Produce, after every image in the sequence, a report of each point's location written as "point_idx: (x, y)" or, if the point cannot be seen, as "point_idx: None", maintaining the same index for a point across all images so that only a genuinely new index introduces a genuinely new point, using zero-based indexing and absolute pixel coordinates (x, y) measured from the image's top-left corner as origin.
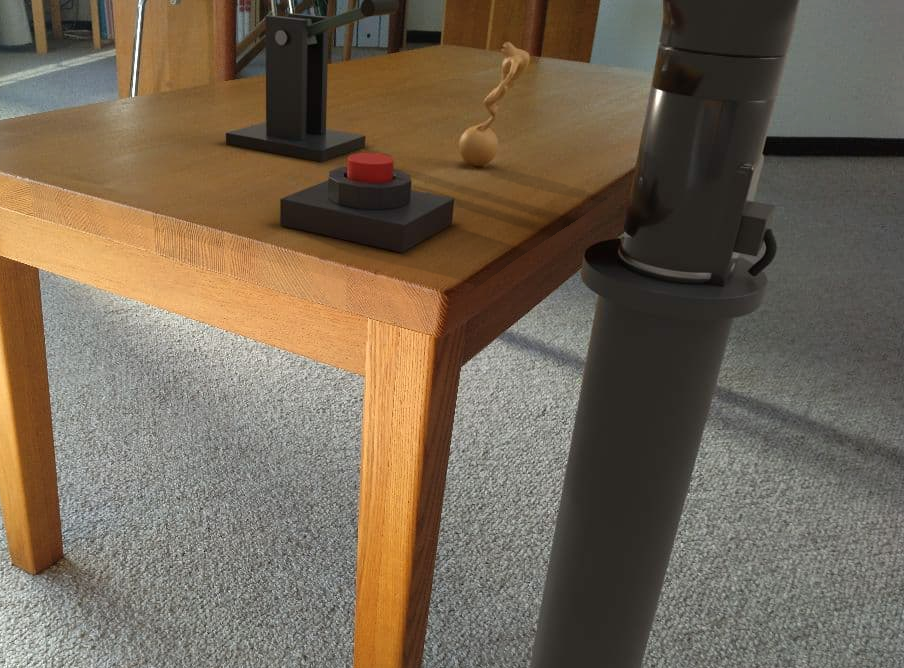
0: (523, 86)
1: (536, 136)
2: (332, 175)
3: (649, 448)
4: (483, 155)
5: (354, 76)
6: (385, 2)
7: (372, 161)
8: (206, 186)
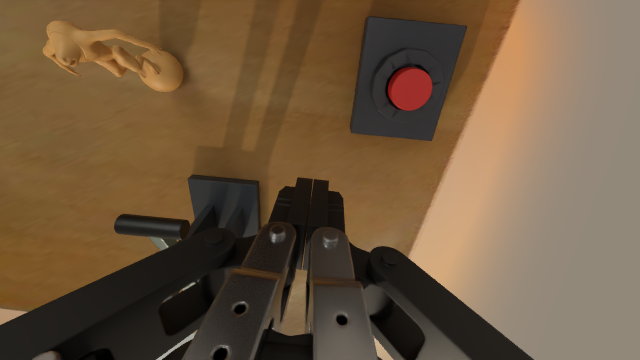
0: None
1: (4, 54)
2: (421, 114)
3: None
4: (176, 59)
5: None
6: (150, 223)
7: (422, 84)
8: (361, 211)
